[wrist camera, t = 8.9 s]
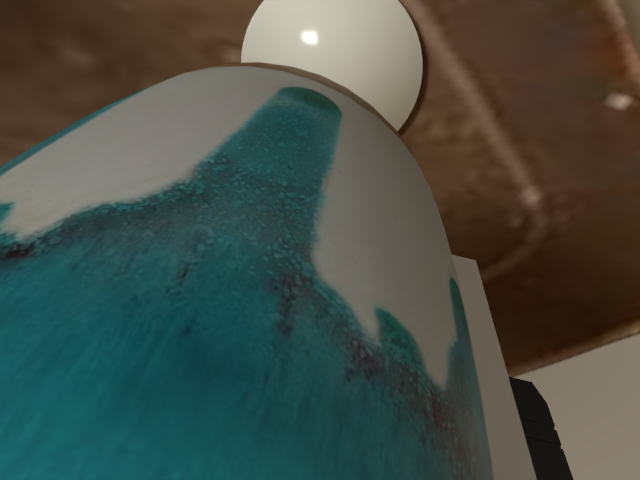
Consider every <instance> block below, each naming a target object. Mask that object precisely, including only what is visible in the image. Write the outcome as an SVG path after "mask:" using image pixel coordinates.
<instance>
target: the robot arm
mask: <svg viewBox="0 0 640 480" xmlns="http://www.w3.org/2000/svg"><path fill="white" fill-rule="evenodd" d="M452 258H453V262H454V265H455V269H456V273H457V276H458V280H459V284H460V287H461V292H462V296H463V301H464V305H465V310H466V315H467V319H468V324H469V328H470V333H471V337H472V343H473V348H474V353H475V359H476V364H477V369H478V375H479V380H480V385H481V391H482V396H483V401H484V407H485V414H486V420H487V426H488V433H489V439H490V445H491V452H492V458H493V464H494V471H495V479H496V480H573V477H572V475H571V472H570V469H569V466H568V463H567V460H566V457H565V454H564V451H563V449H561V443H560V440H559V437H558V434H557V431H556V430H554V426H555V425H554V423H553V420H552V417H551V414H550V411H549V408H548V405H547V403H546V401H545V400H544V399H543V397H542V396H541V395H540V393H539V392H538V390H537V389H536V388H535V386H534V385H533V383H532V382H528V381H524V380H520V379H516V378H512V377H508V374H507V370H506V367H505V363H504V360H503V356H502V352H501V349H500V345H499V342H498V338H497V334H496V331H495V327H494V324H493V320H492V316H491V313H490V309H489V306H488V302H487V298H486V295H485V291H484V288H483V284H482V280H481V277H480V273H479V270H478V266H477V262H476V260H472V259H468V258H464V257H460V256H456V255H452Z"/></svg>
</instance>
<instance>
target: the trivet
mask: <svg viewBox="0 0 640 480" xmlns="http://www.w3.org/2000/svg"><path fill="white" fill-rule="evenodd" d="M247 62H263V63H270V64H278V65H285V66H292V67H296V68H299V69H303V70H306V71H309V72H312V73H316V74H319V75H322V76H324V77H326V78H328V79H330V80H332V81H334V82H336V83H338V84H340V85H342V86H344V87H346V88H348V89H349V90H351V91H352V92H354V93H355V94H356V95H358V96H359V97H361V98H362V99H363V100H365V101H366V102H368V103H369V104H370V105H372V106H373V107H374V108H375V109H376V110H377V111H378V112H379V113H380V114H381V115H382V116H383V117H384V118H385V119H386V120H387V121H388V122H389V123H390V124H391V125H392V126H393V127H394V128H395V129H396V131H398V130H399V129H400V128H401V127H402V125H403V124H404V122H405V121H406V120H407V118H408V117H409V115H410V113H411V111H412V109H413V108H414V105H415V102H416V100H417V97H418V94H419V90H420V86H421V80H422V72H423V65H422V52H421V45H420V42H419V38H418V34H417V31H416V29H415V27H414V24H413V22H412V19H411V18H410V16H409V14H408V13H407V11H406V9H405V8H404V7H403V5H402V4H401V3H400V2H399V0H264V1H263V2H262V4H261V5H260V6H259V7H258V9H257V11H256V12H255V14H254V16H253V17H252V19H251V21H250V24H249V26H248V28H247V31H246V34H245V38H244V41H243V47H242V54H241V63H247Z"/></svg>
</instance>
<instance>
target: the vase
mask: <svg viewBox="0 0 640 480" xmlns="http://www.w3.org/2000/svg"><path fill="white" fill-rule="evenodd" d="M0 480H496V479H495V471H494V464H493V458H492V452H491V445H490V439H489V433H488V426H487V420H486V414H485V407H484V401H483V396H482V391H481V385H480V380H479V375H478V369H477V364H476V359H475V353H474V348H473V343H472V337H471V333H470V328H469V324H468V319H467V315H466V310H465V305H464V301H463V296H462V292H461V287H460V284H459V280H458V276H457V273H456V269H455V265H454V262H453V258H452V254H451V251H450V247H449V243H448V240H447V236H446V233H445V229H444V226H443V223H442V220H441V217H440V214H439V211H438V208H437V205H436V202H435V200H434V197H433V195H432V192H431V190H430V187H429V185H428V183H427V181H426V179H425V177H424V175H423V173H422V171H421V169H420V167H419V165H418V163H417V161H416V159H415V157H414V155H413V153H412V151H411V150H410V149H409V147H408V146H407V144H406V143H405V142H404V140H403V139H402V137H401V136H400V135H399V133H398V132H397V131H396V129H395V128H394V127H393V126H392V125H391V124H390V123H389V122H388V121H387V120H386V119H385V118H384V117H383V116H382V115H381V114H380V113H379V112H378V111H377V110H376V109H375V108H374V107H373V106H372V105H370V104H369V103H368V102H366V101H365V100H363V99H362V98H361V97H359V96H358V95H356V94H355V93H354V92H352V91H351V90H349V89H348V88H346V87H344V86H342V85H340V84H338V83H336V82H334V81H332V80H330V79H328V78H326V77H324V76H322V75H319V74H316V73H312V72H309V71H306V70H303V69H299V68H296V67H292V66H285V65H278V64H270V63H263V62H247V63H226V64H222V65H217V66H212V67H207V68H202V69H198V70H194V71H190V72H186V73H183V74H181V75H178V76H175V77H173V78H170V79H168V80H165V81H163V82H160V83H158V84H156V85H153V86H151V87H148V88H146V89H143V90H141V91H139V92H136V93H134V94H132V95H129V96H127V97H125V98H122V99H120V100H118V101H116V102H113V103H111V104H109V105H107V106H105V107H104V108H102V109H100V110H98V111H96V112H94V113H92V114H90V115H88V116H86V117H84V118H82V119H80V120H78V121H77V122H75V123H73V124H71V125H70V126H68V127H66V128H64V129H63V130H61V131H59V132H58V133H56V134H54V135H52V136H51V137H49V138H47V139H45V140H44V141H42V142H40V143H39V144H37V145H35V146H33V147H32V148H30V149H28V150H27V151H25V152H24V153H22V154H20V155H19V156H17V157H16V158H14V159H12V160H11V161H9V162H7V163H6V164H4V165H3V166H1V167H0Z"/></svg>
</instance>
